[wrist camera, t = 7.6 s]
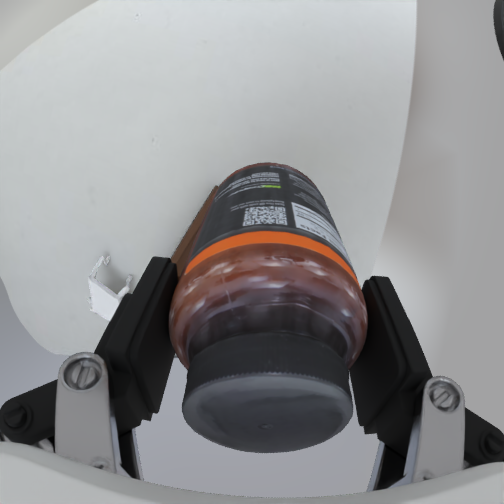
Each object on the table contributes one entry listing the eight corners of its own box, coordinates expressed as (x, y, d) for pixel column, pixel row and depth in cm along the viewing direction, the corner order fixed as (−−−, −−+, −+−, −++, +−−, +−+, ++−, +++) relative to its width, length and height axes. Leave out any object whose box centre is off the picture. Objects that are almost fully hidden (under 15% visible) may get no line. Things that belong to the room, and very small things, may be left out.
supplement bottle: (252, 279, 18) (235, 474, 8) (188, 199, 16) (87, 387, 6) (344, 231, 16) (413, 429, 6) (287, 135, 14) (334, 289, 4)
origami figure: (79, 275, 40) (64, 295, 36) (109, 246, 37) (93, 267, 33) (136, 327, 45) (126, 350, 41) (170, 306, 42) (161, 331, 38)
